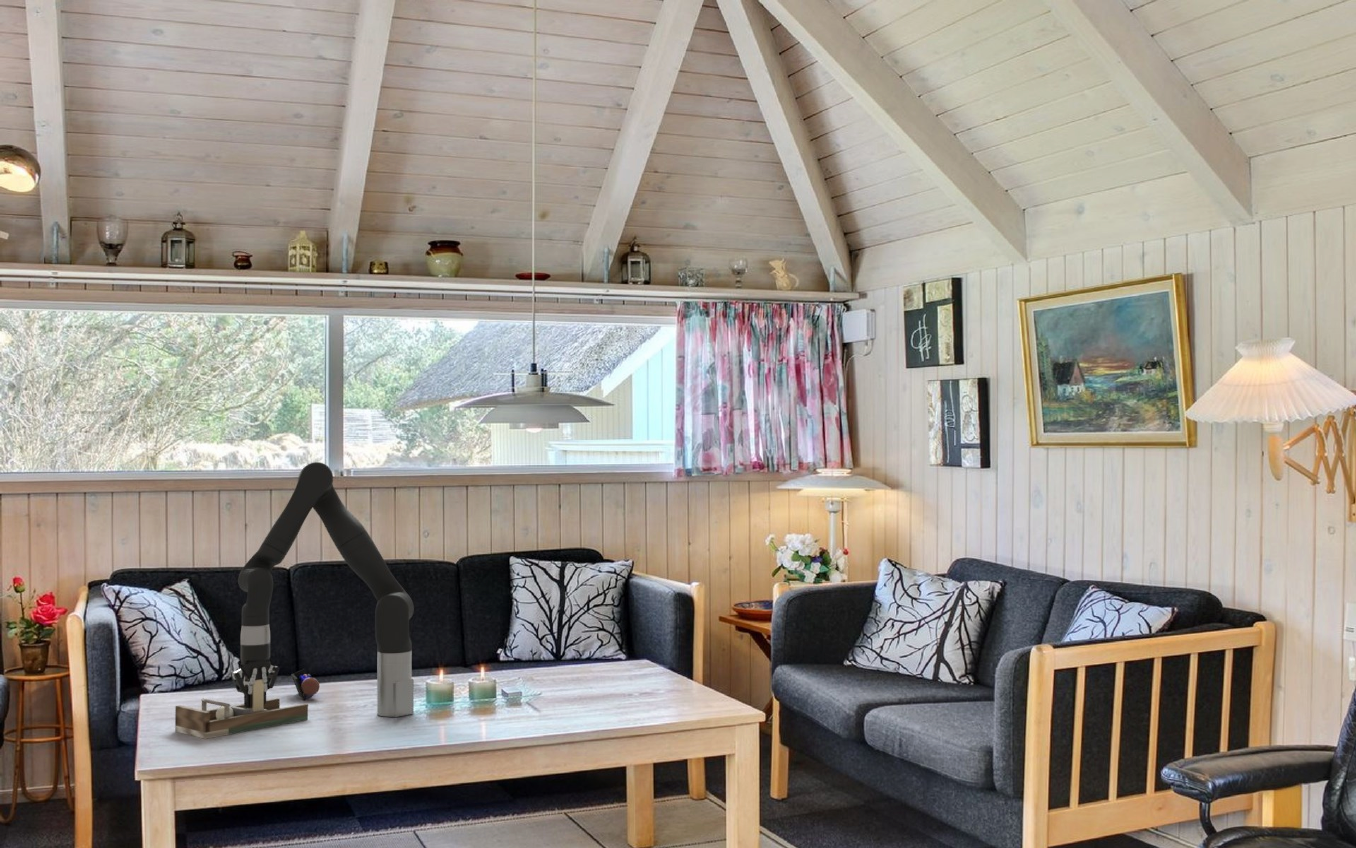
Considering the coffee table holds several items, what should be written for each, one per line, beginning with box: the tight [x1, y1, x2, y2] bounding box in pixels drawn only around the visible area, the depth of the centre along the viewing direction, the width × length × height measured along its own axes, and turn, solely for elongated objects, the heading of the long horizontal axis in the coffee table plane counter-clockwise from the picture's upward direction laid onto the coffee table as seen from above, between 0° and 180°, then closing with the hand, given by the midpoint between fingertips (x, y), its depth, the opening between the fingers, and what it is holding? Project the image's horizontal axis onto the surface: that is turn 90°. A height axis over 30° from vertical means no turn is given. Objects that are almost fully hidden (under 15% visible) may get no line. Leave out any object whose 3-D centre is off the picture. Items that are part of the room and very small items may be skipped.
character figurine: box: [290, 668, 320, 701], centre depth 367 cm, size 8×7×15 cm
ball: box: [216, 706, 234, 720], centre depth 323 cm, size 4×4×4 cm
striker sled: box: [220, 679, 268, 717], centre depth 328 cm, size 11×9×10 cm
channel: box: [174, 697, 309, 740], centre depth 327 cm, size 14×30×8 cm, turn 141°
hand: (255, 706), depth 330 cm, fingers closed on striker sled, 3 cm apart
